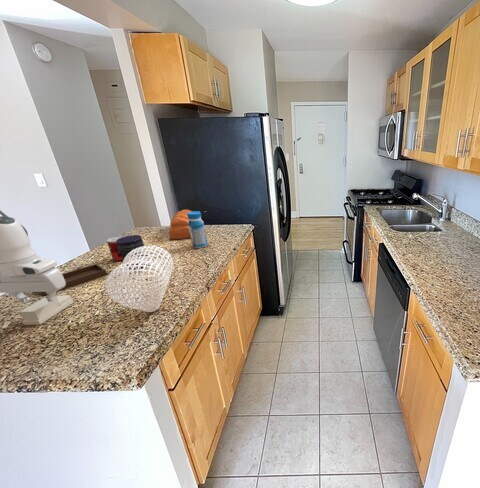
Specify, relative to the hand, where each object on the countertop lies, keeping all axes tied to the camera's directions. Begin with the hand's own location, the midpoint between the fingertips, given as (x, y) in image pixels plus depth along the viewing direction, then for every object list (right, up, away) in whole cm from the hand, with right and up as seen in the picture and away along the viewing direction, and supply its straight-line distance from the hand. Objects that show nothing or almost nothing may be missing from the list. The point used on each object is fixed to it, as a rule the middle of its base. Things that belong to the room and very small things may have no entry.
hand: (39, 301), depth 90 cm
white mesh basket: (+36, -5, +5) cm, 37 cm away
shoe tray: (-13, +3, +25) cm, 28 cm away
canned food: (-8, +12, +47) cm, 49 cm away
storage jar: (+7, +8, +37) cm, 39 cm away
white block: (0, -5, +4) cm, 6 cm away
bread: (+5, +28, +86) cm, 91 cm away
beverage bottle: (+26, +19, +63) cm, 70 cm away
